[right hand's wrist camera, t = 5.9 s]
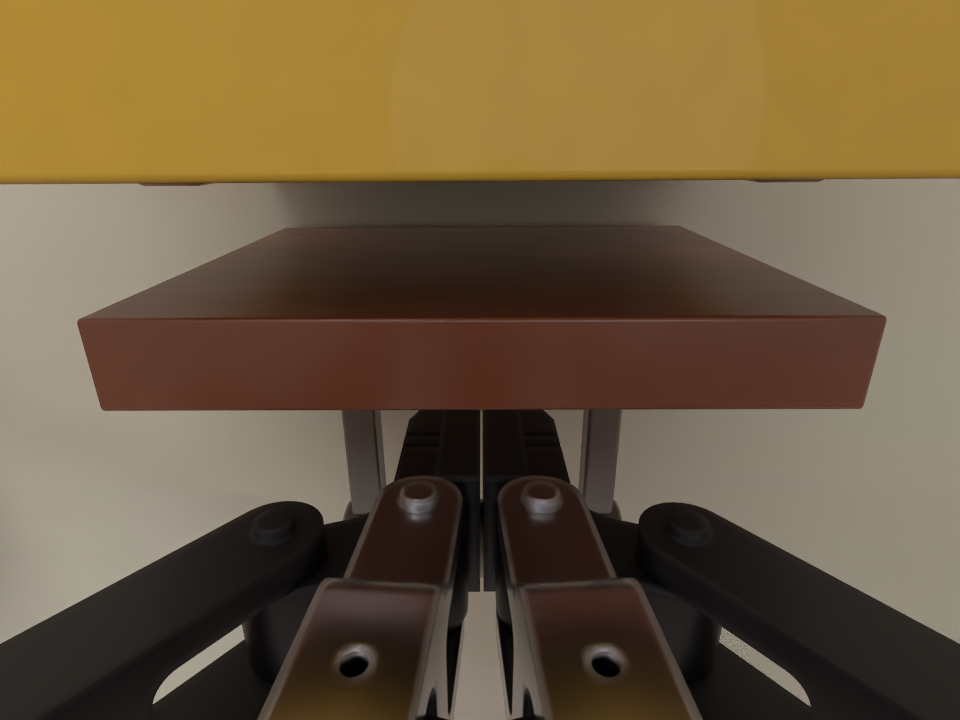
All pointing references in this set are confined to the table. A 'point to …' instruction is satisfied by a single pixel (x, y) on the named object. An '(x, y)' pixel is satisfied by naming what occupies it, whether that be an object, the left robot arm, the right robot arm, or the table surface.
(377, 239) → the drawer
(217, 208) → the table surface
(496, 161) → the cabinet
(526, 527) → the right robot arm
